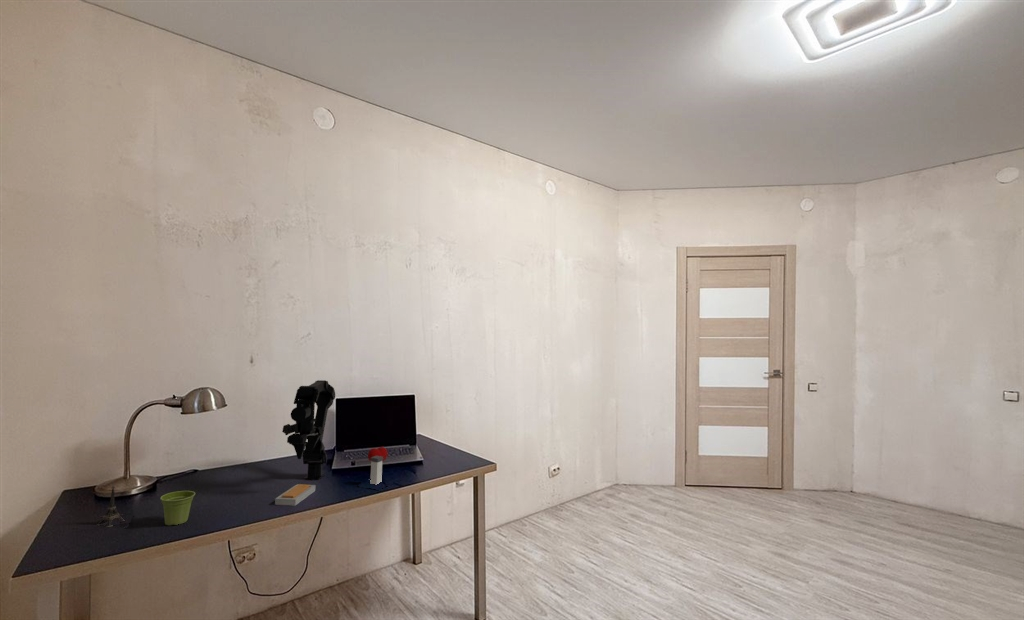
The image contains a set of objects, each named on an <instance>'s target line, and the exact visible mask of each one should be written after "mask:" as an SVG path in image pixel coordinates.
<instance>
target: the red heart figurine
mask: <svg viewBox="0 0 1024 620" xmlns="http://www.w3.org/2000/svg"><path fill="white" fill-rule="evenodd" d="M367 453H368V454H367V459H368V460H369V461H370V462H371V457H374V456H382V457H383V461H382V463H383V462H385V461H386V459H387V457H388V450H387V448H385V447H384V446H380V447H378V448H376V447H375V448H374V447H373V448H370V450H369V451H368V452H367Z"/></svg>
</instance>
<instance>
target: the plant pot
mask: <svg viewBox="0 0 1024 620" xmlns="http://www.w3.org/2000/svg"><path fill="white" fill-rule="evenodd" d="M195 496H196V492H195V491H192V490H180V491H179V490H178V491H172V492H168V493H165V494H163V495H161V496H160V501H161V504H162V507H163V516H164V525H166V526H173V525H174V526H175V525H176V526H177V525H178V524H179V525H181V524H184V523H186V522H187V521H188V519H189V515H190V511H191V506H192V501H193V499H194V497H195ZM179 525H178V526H179Z"/></svg>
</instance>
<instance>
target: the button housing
mask: <svg viewBox="0 0 1024 620" xmlns="http://www.w3.org/2000/svg"><path fill="white" fill-rule="evenodd" d="M299 484H300V483H298V484H295V485H294V486H292V487H291V488H289V489H288V490H286V491H285V492H283V493H281V494H279V496H277V497H276V498H274V505H275V506H293V507H294V506H296V505H298V504H299V503H300V502H302V501H303V500H305V499H306V498H308V497H309V496H311V494H313V493H315V491H316V487H317V486H316V484H308V485H309V488H308V489H306V490H305V491H303V492H302V493H301V494H299V495H298V496H296V497H295V498H282V495H284V494H285V493H287V492H288V491H290V490H291V489H293V488H294V487H296V486H297V485H299Z"/></svg>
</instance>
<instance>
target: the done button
mask: <svg viewBox="0 0 1024 620" xmlns="http://www.w3.org/2000/svg"><path fill="white" fill-rule="evenodd" d="M298 484H299V485H297V484H296V485H297V486H296V487H294V486H293V487H294V488H293V489H291V488H290V489H291V490H290V491H288V490H287V491H288V492H287V493H285V492H284V493H285V494H284V495H282V498H295V497H296V496H298V495H299V494H301V493H302V492H303V491H305V490H306V489H308V488H309V485H310V484H306V483H304V484H301V483H298Z"/></svg>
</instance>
